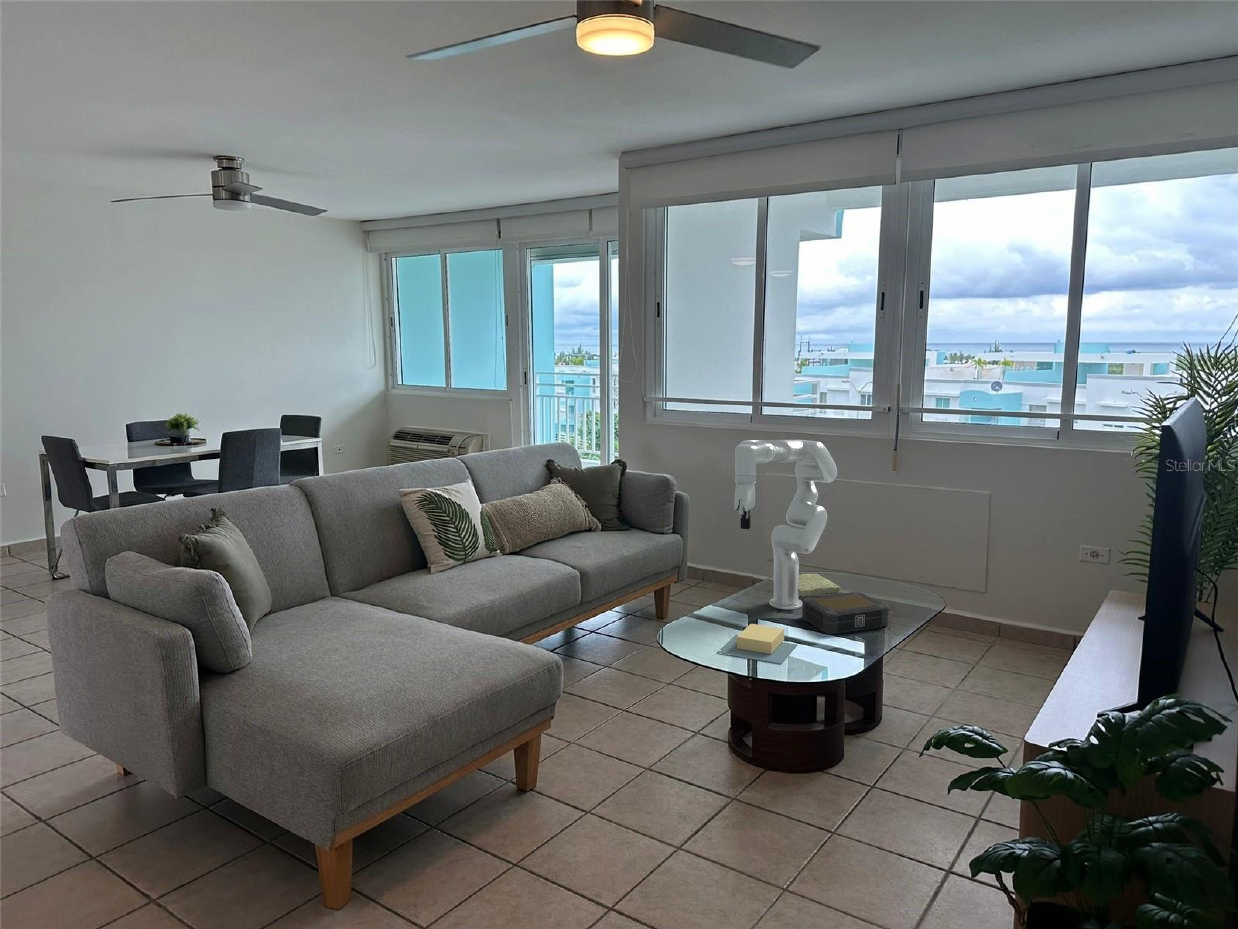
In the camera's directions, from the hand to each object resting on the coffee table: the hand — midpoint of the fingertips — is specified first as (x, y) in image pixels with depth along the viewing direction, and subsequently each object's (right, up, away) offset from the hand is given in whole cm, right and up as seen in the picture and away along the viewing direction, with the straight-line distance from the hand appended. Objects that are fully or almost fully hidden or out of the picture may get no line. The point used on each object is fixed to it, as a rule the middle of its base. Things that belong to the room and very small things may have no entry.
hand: (745, 528), depth 301 cm
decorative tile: (+33, -29, +44) cm, 62 cm away
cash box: (+37, -35, +3) cm, 51 cm away
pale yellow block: (+6, -35, -13) cm, 38 cm away
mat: (+1, -39, -22) cm, 45 cm away
